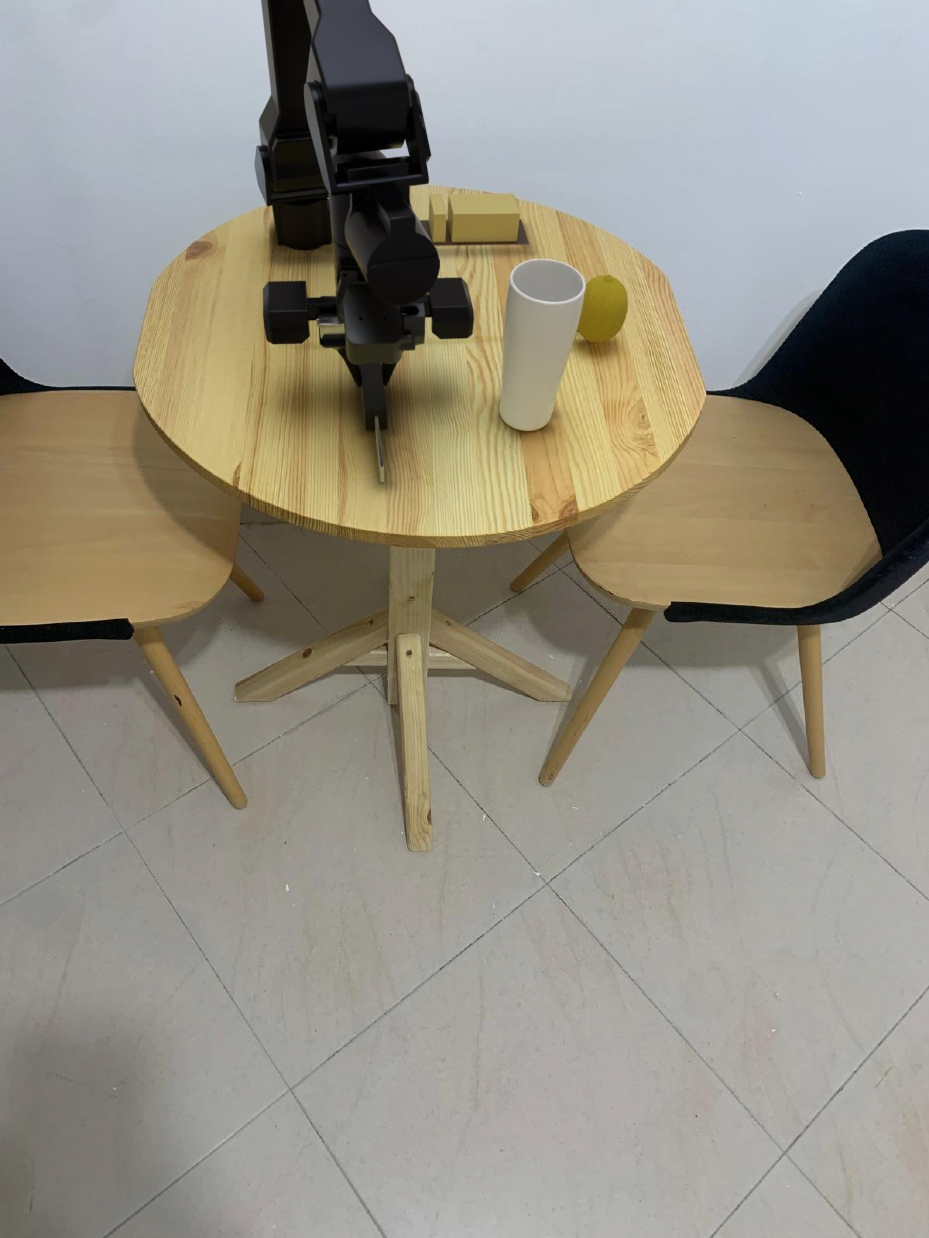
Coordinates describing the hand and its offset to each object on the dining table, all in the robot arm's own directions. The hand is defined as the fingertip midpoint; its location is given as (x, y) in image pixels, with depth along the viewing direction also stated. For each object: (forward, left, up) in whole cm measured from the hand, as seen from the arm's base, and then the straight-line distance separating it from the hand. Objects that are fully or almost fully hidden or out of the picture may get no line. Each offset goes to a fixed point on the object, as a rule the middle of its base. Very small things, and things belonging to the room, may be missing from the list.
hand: (371, 384), depth 78 cm
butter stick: (+16, +27, 0) cm, 32 cm away
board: (+13, +27, -1) cm, 30 cm away
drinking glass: (+15, -4, -1) cm, 16 cm away
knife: (0, -5, -1) cm, 5 cm away
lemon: (+25, +7, -1) cm, 26 cm away
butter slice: (+10, +27, 0) cm, 29 cm away
